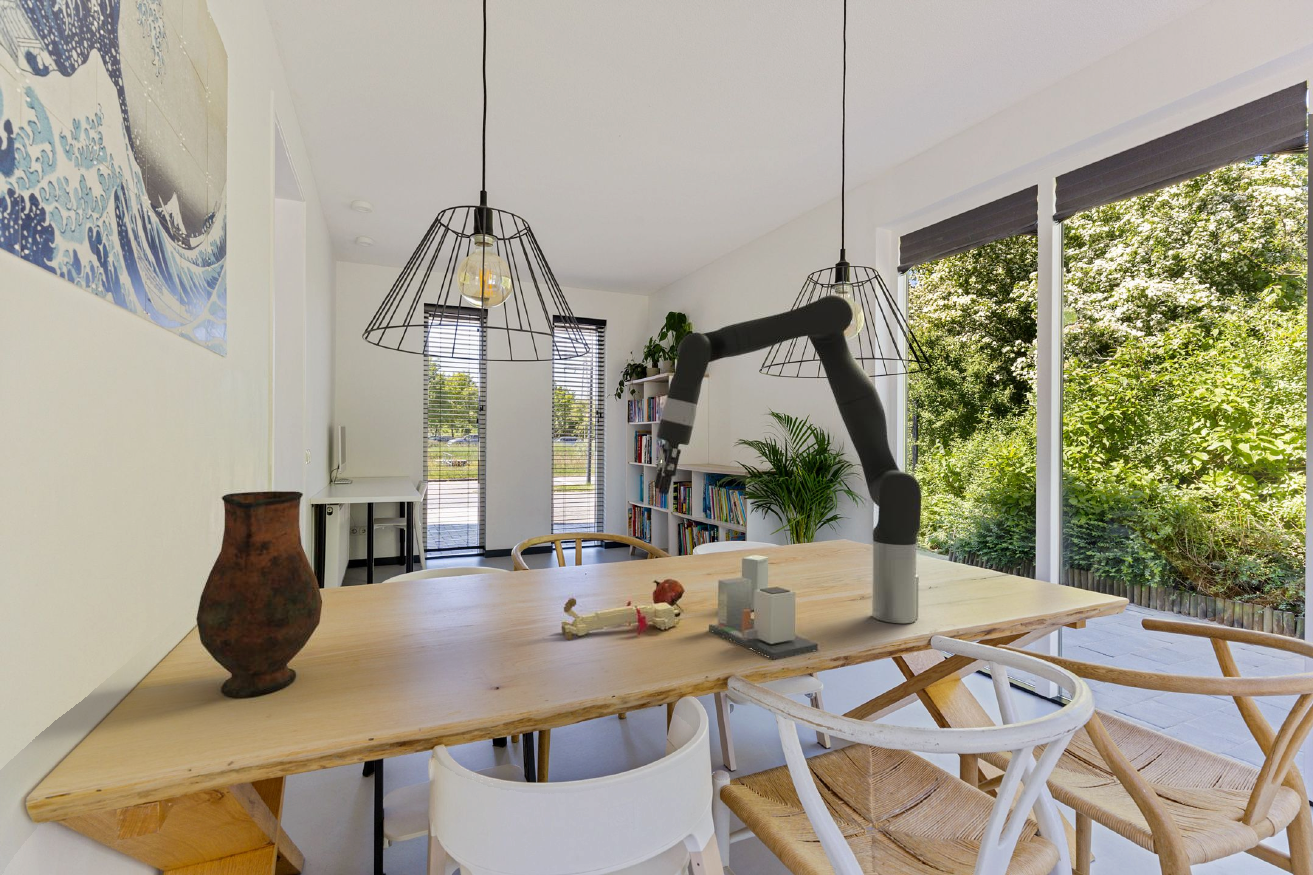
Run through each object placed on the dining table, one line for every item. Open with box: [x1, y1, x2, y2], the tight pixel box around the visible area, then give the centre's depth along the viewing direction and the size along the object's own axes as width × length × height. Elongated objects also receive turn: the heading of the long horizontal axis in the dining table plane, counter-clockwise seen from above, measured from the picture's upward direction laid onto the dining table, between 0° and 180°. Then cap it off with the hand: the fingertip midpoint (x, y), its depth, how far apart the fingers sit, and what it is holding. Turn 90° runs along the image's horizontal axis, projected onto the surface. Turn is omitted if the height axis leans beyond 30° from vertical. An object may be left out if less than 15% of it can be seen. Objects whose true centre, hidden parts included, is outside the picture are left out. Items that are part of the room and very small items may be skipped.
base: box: [708, 576, 819, 660], centre depth 124 cm, size 11×20×10 cm, turn 31°
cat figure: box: [561, 597, 683, 640], centre depth 129 cm, size 10×9×25 cm
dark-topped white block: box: [744, 586, 797, 644], centre depth 120 cm, size 8×5×9 cm, turn 121°
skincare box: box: [741, 554, 770, 611], centre depth 149 cm, size 6×4×12 cm
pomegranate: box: [652, 578, 685, 613], centre depth 146 cm, size 7×7×10 cm
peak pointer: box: [742, 609, 752, 637], centre depth 121 cm, size 1×1×5 cm, turn 120°
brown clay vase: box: [195, 490, 323, 699], centre depth 101 cm, size 17×21×30 cm
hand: (660, 491), depth 141 cm, fingers open, 8 cm apart
